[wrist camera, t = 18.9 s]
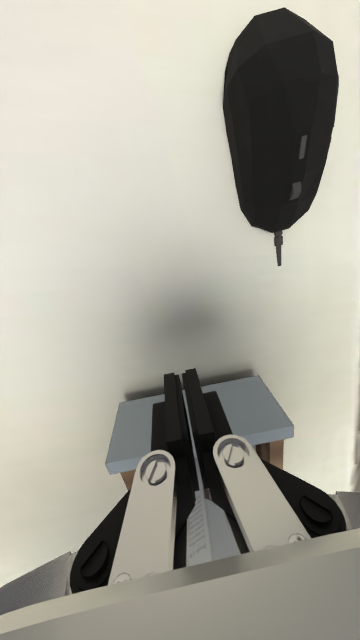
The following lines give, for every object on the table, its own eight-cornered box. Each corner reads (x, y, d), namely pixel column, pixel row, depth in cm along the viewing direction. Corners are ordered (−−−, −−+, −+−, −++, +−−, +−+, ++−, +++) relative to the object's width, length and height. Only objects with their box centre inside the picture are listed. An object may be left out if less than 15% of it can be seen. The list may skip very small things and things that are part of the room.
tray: (262, 485, 28) (287, 547, 22) (158, 506, 28) (157, 574, 22) (258, 375, 21) (294, 425, 15) (119, 402, 21) (105, 464, 15)
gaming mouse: (243, 274, 19) (263, 284, 15) (212, 41, 13) (232, -35, 9) (312, 256, 19) (350, 261, 15) (311, 13, 13) (371, -75, 9)
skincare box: (235, 453, 24) (301, 646, 13) (209, 475, 25) (249, 672, 14) (193, 431, 22) (228, 635, 11) (167, 456, 23) (174, 666, 12)
